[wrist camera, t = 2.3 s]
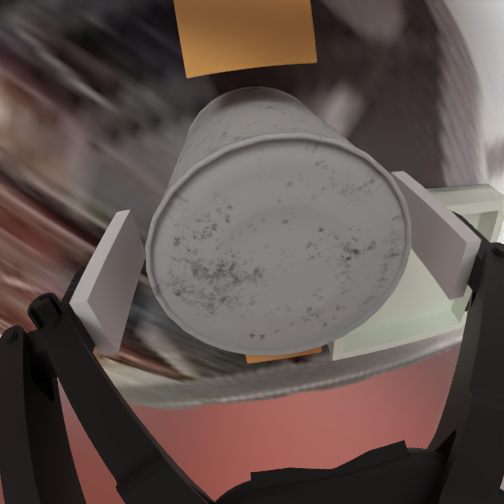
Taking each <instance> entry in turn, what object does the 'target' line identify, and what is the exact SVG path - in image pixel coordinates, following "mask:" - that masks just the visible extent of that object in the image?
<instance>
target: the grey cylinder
mask: <svg viewBox="0 0 504 504" xmlns="http://www.w3.org/2000/svg"><path fill="white" fill-rule="evenodd" d="M145 248H146V272H147V275H148V278H149V281H150V284H151V287H152V290H153V293H154V296H155V297H156V299H157V300H158V302H159V303H160V305H161V306H162V308H163V309H164V311H165V312H166V314H167V315H168V316H169V317H170V318H171V319H172V320H173V321H174V322H175V323H176V324H177V325H179V326H180V327H181V328H182V329H183V330H184V331H185V332H187V333H189V334H190V335H192V336H194V337H195V338H197V339H199V340H200V341H202V342H204V343H206V344H209V345H212V346H214V347H217V348H220V349H222V350H225V351H229V352H235V353H240V354H245V355H257V356H277V355H286V354H294V353H299V352H303V351H307V350H311V349H314V348H318V347H321V346H323V345H326V344H328V343H330V342H333V341H335V340H337V339H339V338H342V337H343V336H345V335H347V334H348V333H350V332H351V331H353V330H355V329H356V328H358V327H359V326H361V325H362V324H364V323H365V322H366V321H367V320H368V319H369V318H370V317H372V316H373V315H374V314H375V313H376V312H377V311H378V310H379V309H380V308H381V307H382V306H383V305H384V303H385V302H386V301H387V300H388V298H389V297H390V296H391V294H392V293H393V292H394V291H395V289H396V287H397V285H398V283H399V281H400V279H401V277H402V275H403V273H404V271H405V269H406V265H407V262H408V258H409V254H410V250H411V219H410V215H409V211H408V208H407V204H406V201H405V197H404V195H403V194H402V192H401V191H400V189H399V187H398V186H397V184H396V182H395V181H394V179H393V178H392V176H391V174H390V173H389V172H387V171H386V170H385V169H384V168H383V167H382V166H381V165H380V164H379V163H378V162H376V161H375V160H374V159H373V158H372V157H371V156H370V155H369V154H367V153H366V152H364V151H362V150H360V149H358V148H356V147H355V146H354V145H353V144H351V143H350V142H349V141H348V140H347V139H346V138H344V137H343V136H342V135H341V134H339V133H338V132H337V131H336V130H335V129H333V128H332V127H331V126H330V125H328V124H327V123H326V122H325V121H323V120H322V119H321V118H319V117H318V116H317V115H316V114H314V113H313V112H312V111H310V110H309V109H308V107H307V106H306V105H305V104H303V103H302V102H301V101H299V100H298V99H296V98H295V97H294V96H292V95H290V94H288V93H285V92H283V91H280V90H278V89H274V88H268V87H262V86H256V87H242V88H239V89H236V90H232V91H229V92H226V93H224V94H223V95H221V96H219V97H217V98H216V99H214V100H212V101H211V102H210V103H209V104H208V105H207V106H206V107H205V108H203V109H202V110H201V111H200V112H199V114H198V115H197V117H196V118H195V120H194V121H193V123H192V124H191V126H190V129H189V132H188V134H187V137H186V140H185V144H184V146H183V148H182V151H181V153H180V156H179V158H178V161H177V163H176V165H175V168H174V170H173V173H172V176H171V178H170V181H169V183H168V186H167V188H166V191H165V194H164V196H163V199H162V201H161V203H160V205H159V206H158V208H157V210H156V212H155V213H154V215H153V218H152V221H151V225H150V229H149V233H148V237H147V241H146V245H145Z"/></svg>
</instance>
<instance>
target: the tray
mask: <svg viewBox="0 0 504 504" xmlns="http://www.w3.org/2000/svg"><path fill="white" fill-rule="evenodd" d="M426 190H427V191H429V192H430V193H431V194H432V195H433V196H435V197H436V198H437V199H438V200H439V201H440V202H441V203H443V204H444V205H445V206H446V207H447V208H448V209H449V210H450V211H454V212H456V213H457V214H459V215H461V216H463V217H464V218H465V219H466V220H467V221H468V222H469V224H471V225H473V226H474V229H475V228H476V229H477V230H478V231H479V232H480V233H481V234H482V235H483V236H484V237H485V238H486V239H487V240H488V241H489V242H490V243H492V242H497V239H498V236H499V232H500V229H501V225H502V222H503V218H504V196H503V195H502V194H501V193H500V192H498V191H497V190H496V189H494V188H493V187H492V186H491V185H489V184H481V185H467V186H454V187H442V188H430V189H426ZM471 293H472V289H471V288H470V287H469V286H468V285H467V288H466V291H465V294H464V296H463V297H459V298H456V299H452V300H449V299H448V297H447V296H446V294H445V293H444V292H443V290H442V289H441V287H440V286H439V285H438V283H437V282H436V280H435V279H434V278H433V276H432V275H431V274H430V272H429V271H428V270H427V268H426V267H425V266H424V264H423V263H422V262H421V260H420V259H419V258H418V256H417V255H416V254H415V252H414V251H413V250H412V249H411V250H410V254H409V258H408V262H407V265H406V269H405V271H404V273H403V275H402V277H401V279H400V281H399V283H398V285H397V287H396V289H395V291H394V292H393V293H392V294H391V296H390V297H389V298H388V300H387V301H386V302H385V303H384V305H383V306H382V307H381V308H380V309H379V310H378V311H377V312H376V313H375V314H374V315H373V316H372V317H370V318H369V319H368V320H367V321H366V322H365V323H364V324H362V325H361V326H359V327H358V328H356V329H355V330H353V331H351V332H350V333H348V334H347V335H345V336H343V337H342V338H339V339H337V340H335V341H333V342H330V343H328V347H329V351H330V354H331V358H332V361H334V360H339V359H344V358H349V357H354V356H358V355H363V354H367V353H372V352H376V351H380V350H384V349H388V348H392V347H396V346H400V345H404V344H408V343H412V342H415V341H419V340H422V339H426V338H429V337H433V336H436V335H440V334H443V333H446V332H449V331H453V330H456V329H459V328H462V327H464V325H465V323H466V318H467V312H468V310H467V312H466V311H465V309H466V306H467V303H468V301H469V298H470V296H471Z"/></svg>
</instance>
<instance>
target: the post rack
mask: <svg viewBox="0 0 504 504" xmlns="http://www.w3.org/2000/svg"><path fill="white" fill-rule="evenodd" d="M174 6H175V13H176V19H177V25H178V31H179V37H180V43H181V49H182V55H183V60H184V66H185V72H186V77H187V78H191V77H196V76H202V75H207V74H213V73H219V72H226V71H233V70H240V69H248V68H256V67H265V66H275V65H287V64H303V63H317V55H316V45H315V36H314V27H313V19H312V11H311V4H310V0H174ZM319 352H322V346H321V347H318V348H314V349H311V350H307V351H303V352H299V353H294V354H286V355H277V356H257V355H246V359H247V363H256V362H263V361H270V360H277V359H284V358H290V357H296V356H302V355H308V354H314V353H319Z"/></svg>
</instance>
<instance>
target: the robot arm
mask: <svg viewBox="0 0 504 504" xmlns="http://www.w3.org/2000/svg"><path fill="white" fill-rule="evenodd" d="M391 176H392V178H393V179H394V181H395V182H396V184H397V186H398V187H399V189H400V191H401V192H402V194H403V195H404V197H405V201H406V204H407V208H408V211H409V215H410V219H411V249H412V250H413V251H414V252H415V254H416V255H417V256H418V258H419V259H420V260H421V262H422V263H423V264H424V266H425V267H426V268H427V270H428V271H429V272H430V274H431V275H432V276H433V278H434V279H435V280H436V282H437V283H438V285H439V286H440V287H441V289H442V290H443V292H444V293H445V294H446V296H447V297H448V299H449V300H452V299H456V298H459V297H463V296H464V294H465V291H466V288H467V285H468V286H469V287H470V288H471V289H472V293H471V296H470V298H469V301H468V303H467V306H466V309H465V311H466V312H467V310H468V312H467V318H466V323H465V329H464V334H463V339H462V343H461V348H460V353H459V357H458V361H457V365H456V369H455V373H454V377H453V380H452V384H451V388H450V391H449V394H448V398H447V401H446V404H445V407H444V410H443V414H442V417H441V420H440V423H439V425H438V428H437V431H436V433H435V436H434V438H433V439H432V441H431V443H430V445H429V446H428V448H427V449H422V448H407V447H406V444H405V441H404V440H403V441H400V442H397V443H393V444H390V445H387V446H384V447H380V448H377V449H373V450H370V451H368V452H366V453H364V454H363V455H360V456H359V457H357V458H355V459H353V460H351V461H349V462H347V463H345V464H343V465H341V466H339V467H337V468H334V469H305V468H283V469H276V470H269V471H260V472H251V480H250V481H247V482H244V483H242V484H239V485H237V486H235V487H234V488H232V489H230V490H228V491H227V492H226V493H224V494H223V495H222V496H220V497H219V499H217V500H216V501H215V502H214V501H213V500H212V499H211V498H210V497H209V496H208V495H207V494H206V493H205V492H204V491H203V490H202V489H201V488H200V487H198V486H197V485H196V484H195V483H194V482H193V481H192V480H191V479H190V478H189V477H188V476H187V474H186V473H185V472H184V471H183V470H182V469H181V468H180V467H179V466H178V465H177V464H176V463H175V461H174V460H173V459H172V458H171V457H170V456H169V455H168V454H167V452H166V451H165V450H164V449H163V448H162V447H161V445H160V444H159V443H158V442H157V441H156V439H155V438H154V437H153V436H152V435H151V433H149V431H148V430H147V429H146V427H145V426H144V425H143V423H142V422H141V421H140V420H139V418H138V417H137V416H136V414H135V413H134V412H133V411H132V409H131V408H130V406H129V405H128V404H127V402H126V401H125V400H124V398H123V397H122V396H121V394H120V393H119V391H118V390H117V388H116V387H115V386H114V384H113V383H112V381H111V380H110V378H109V377H108V375H107V374H106V372H105V371H104V369H103V368H102V366H101V365H100V363H99V362H98V360H97V359H96V357H95V356H94V354H93V350H94V347H95V346H96V347H97V349H98V350H99V352H100V353H101V354H118V353H119V348H120V344H121V340H122V337H123V333H124V329H125V325H126V321H127V318H128V314H129V310H130V307H131V303H132V300H133V296H134V293H135V289H136V286H137V283H138V279H139V276H140V273H141V270H142V266H143V263H144V260H145V257H146V253H145V250H144V247H143V245H142V242H141V239H140V236H139V233H138V230H137V227H136V224H135V221H134V218H133V215H132V212H131V209H129V210H125V211H120V212H117V213H116V214H115V216H114V218H113V220H112V221H111V223H110V225H109V227H108V228H107V230H106V232H105V234H104V235H103V237H102V239H101V241H100V243H99V245H98V246H97V248H96V250H95V252H94V254H93V256H92V258H91V260H90V262H89V264H88V265H87V266H86V267H82V268H81V269H80V270H79V271H78V272H77V273H76V274H75V276H74V277H73V279H72V281H71V284H70V285H69V287H68V289H67V290H68V291H66V293H65V295H64V297H63V299H62V301H61V303H60V301H59V300H58V298H57V296H56V295H55V294H54V293H45V294H43V295H41V296H39V297H37V298H36V299H35V300H34V301H33V302H32V303H31V304H30V306H29V308H28V315H29V317H30V319H31V320H32V321H33V323H34V324H35V326H36V327H37V330H34V331H31V332H29V333H26V332H25V331H24V329H23V328H22V327H21V326H18V325H16V326H12V327H10V328H9V329H7V330H6V331H5V332H4V333H3V334H2V336H1V338H0V475H1V482H2V488H3V495H4V500H5V504H86V501H85V498H84V495H83V492H82V489H81V486H80V482H79V479H78V476H77V472H76V469H75V465H74V461H73V458H72V454H71V450H70V445H69V441H68V437H67V432H66V428H65V423H64V417H63V412H62V407H61V401H60V395H59V388H58V381H57V377H58V379H59V381H60V383H61V385H62V387H63V389H64V391H65V393H66V395H67V397H68V400H69V401H70V403H71V406H72V407H73V409H74V411H75V413H76V415H77V417H78V419H79V421H80V422H81V424H82V426H83V428H84V430H85V431H86V433H87V435H88V437H89V438H90V440H91V442H92V444H93V445H94V447H95V449H96V450H97V451H98V453H99V455H100V456H101V458H102V460H103V461H104V463H105V464H106V466H107V467H108V469H109V471H110V472H111V474H112V475H113V476H114V478H115V480H116V482H117V485H116V489H117V492H118V493H119V495H120V496H121V498H122V499H123V501H124V502H125V503H126V504H504V491H503V490H502V489H500V486H501V483H502V479H503V476H504V244H501V243H497V242H492V243H490V242H489V241H488V240H487V239H486V238H485V237H484V236H483V235H482V234H481V233H480V232H479V231H478V230H477V229H476V228H475V229H474V226H473V225H471V224H469V222H468V221H467V220H466V219H465V218H464V217H463V216H461V215H459V214H457V213H456V212H454V211H450V210H449V209H448V208H447V207H446V206H445V205H444V204H443V203H441V202H440V201H439V200H438V199H437V198H436V197H435V196H433V195H432V194H431V193H430V192H429V191H427V190H426V189H425V188H424V187H423V186H422V185H420V184H419V183H418V182H417V181H415V180H414V179H413V178H412V177H411V176H409V175H408V174H407V173H406V172H404V171H398V172H391Z"/></svg>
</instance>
